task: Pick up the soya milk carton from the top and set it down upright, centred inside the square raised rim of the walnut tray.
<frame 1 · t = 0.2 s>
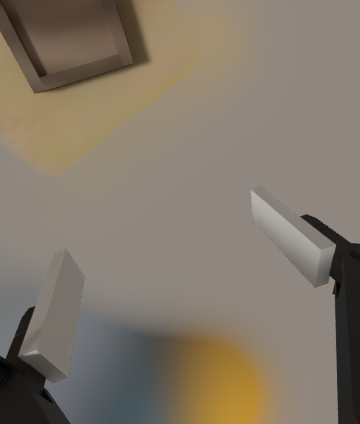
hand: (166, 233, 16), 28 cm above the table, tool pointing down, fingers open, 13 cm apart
walnut tray: (61, 17, 30), on the table
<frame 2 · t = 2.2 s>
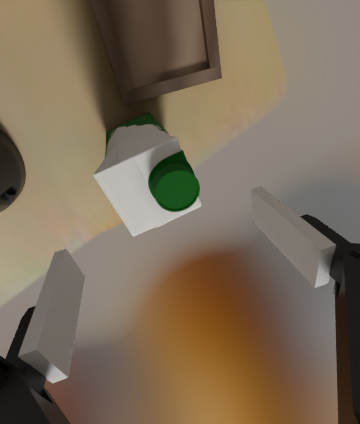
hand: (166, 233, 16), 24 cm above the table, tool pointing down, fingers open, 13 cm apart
walnut tray: (157, 30, 30), on the table
soya milk: (137, 143, 36), on the table
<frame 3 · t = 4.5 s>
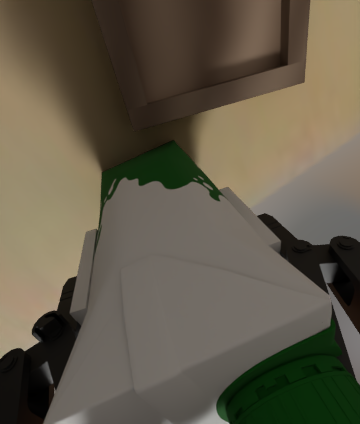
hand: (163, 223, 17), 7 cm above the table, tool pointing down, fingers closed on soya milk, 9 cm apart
soya milk: (152, 186, 23), on the table, touching gripper
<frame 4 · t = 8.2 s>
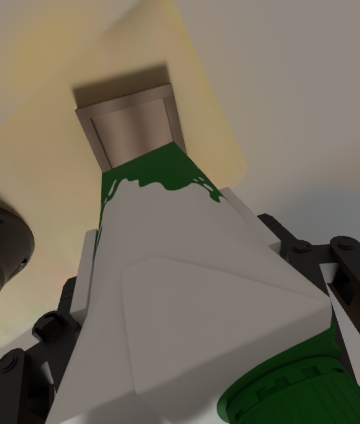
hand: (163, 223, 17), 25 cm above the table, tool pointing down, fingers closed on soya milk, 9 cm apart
walnut tray: (138, 141, 38), on the table
soya milk: (152, 187, 23), point 18 cm above the table, touching gripper
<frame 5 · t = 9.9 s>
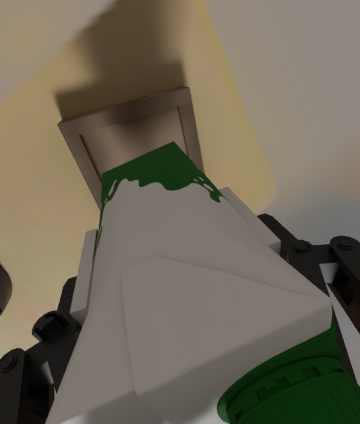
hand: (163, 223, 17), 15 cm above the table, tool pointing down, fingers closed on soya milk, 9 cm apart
walnut tray: (143, 161, 29), on the table
soya milk: (152, 187, 23), point 8 cm above the table, touching gripper
when the fingers open (10 cm above the table, at t = 11.7 s): soya milk drops 2 cm, resting on walnut tray.
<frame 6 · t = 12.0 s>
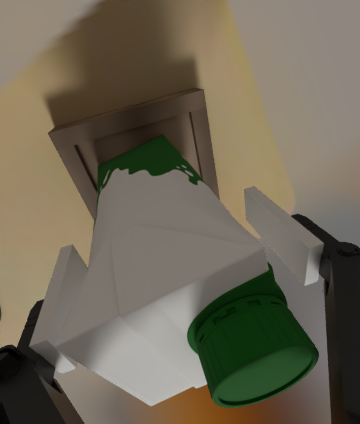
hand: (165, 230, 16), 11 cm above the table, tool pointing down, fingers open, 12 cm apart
walnut tray: (148, 173, 26), on the table
soya milk: (144, 178, 25), point 1 cm above the table, touching walnut tray
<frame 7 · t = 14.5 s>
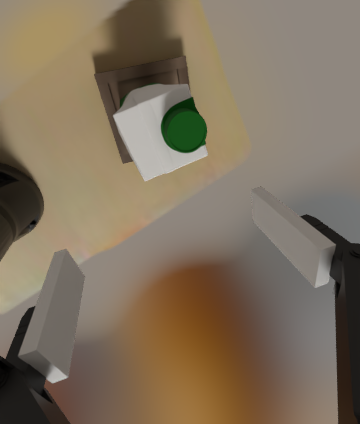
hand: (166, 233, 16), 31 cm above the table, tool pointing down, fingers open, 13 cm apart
walnut tray: (150, 112, 40), on the table
soya milk: (147, 113, 39), point 1 cm above the table, touching walnut tray
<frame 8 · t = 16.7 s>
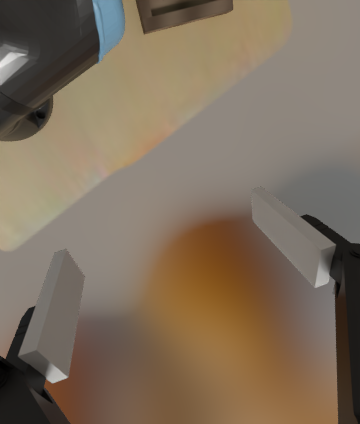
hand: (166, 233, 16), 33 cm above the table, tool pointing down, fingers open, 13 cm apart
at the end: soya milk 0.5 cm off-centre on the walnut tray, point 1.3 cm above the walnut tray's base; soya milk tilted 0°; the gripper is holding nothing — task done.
